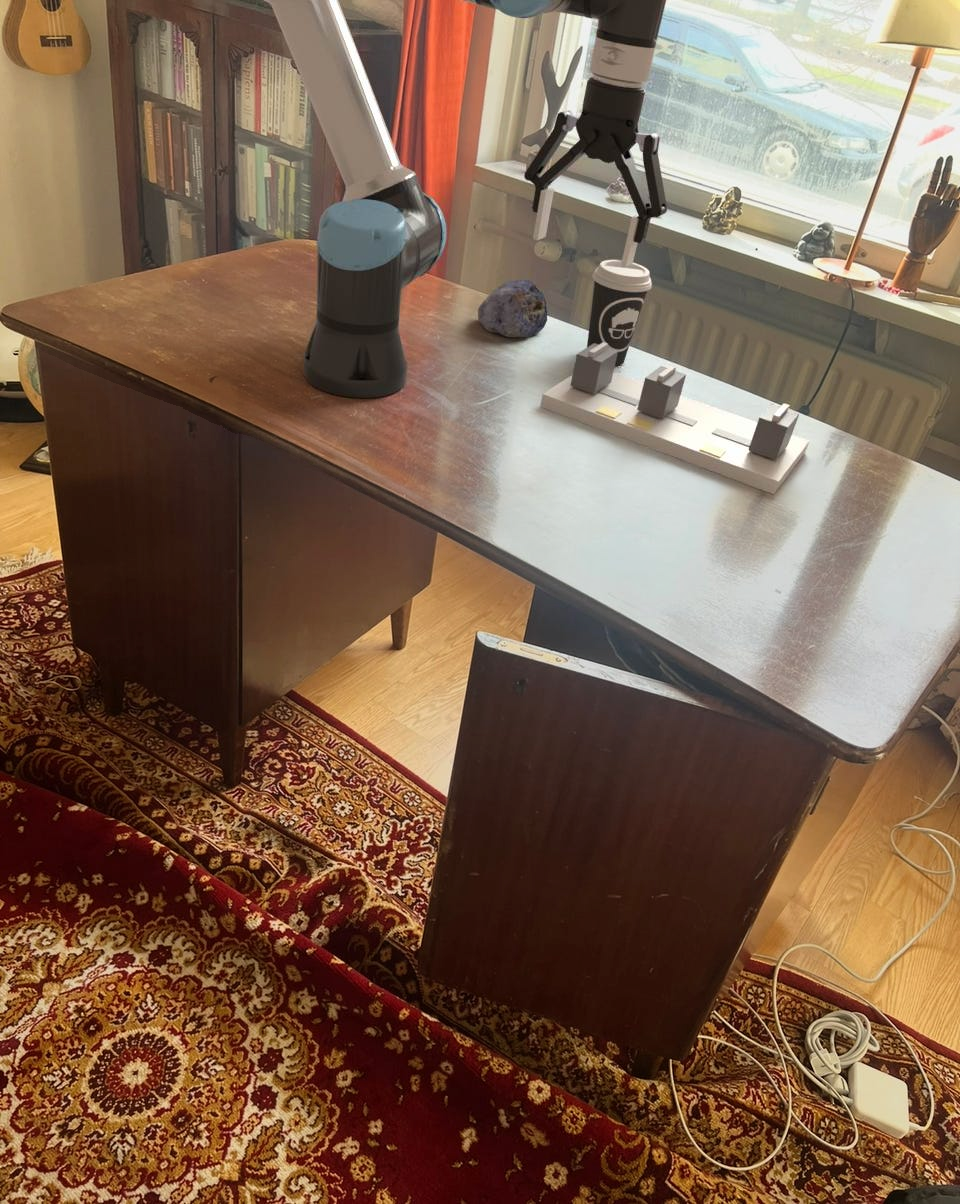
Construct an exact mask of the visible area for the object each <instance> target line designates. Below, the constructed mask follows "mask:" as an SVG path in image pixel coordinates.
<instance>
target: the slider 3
mask: <svg viewBox="0 0 960 1204" xmlns="http://www.w3.org/2000/svg"><path fill="white" fill-rule="evenodd" d="M789 408H790V404H787V403H782V405H781V406H780V405H777V404H774V403H771V404H770V405H769V407H767V408H766V409H765V411H764V412H763V413H762V414H761V415H760V416H759V418H758V420H757V422H758V423H757V426H756V429H755V432H754V435H753V438H752V441H751V444H750V446H749V449H748V450H749V451H752V452H754V453H757V454H760V455H763V456H765V457H768V458H771V459H774V460H776V459H777V458H778V457H779V456H780V455H781V453H782V452H783V451H784V450H785V448H786V447H787V446H788V444H789V441H790V438H791V436H792V435H793V432H794V430H795V427H796V424H797V422H798V418H799V416H800V412H797V411H794V410H792V409H789Z"/></svg>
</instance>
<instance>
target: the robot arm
mask: <svg viewBox="0 0 960 1204" xmlns="http://www.w3.org/2000/svg"><path fill="white" fill-rule="evenodd" d="M263 1H264V2H266V3H268V4H269V5H270V6H271V8H272V10H273V13H274V15H275V17H276V20H277V22H278V26H279V28H280V29H281V32H282V35H283V37H284V40H285V42H286V44H287V47H288V50H289V52H290V55H291V56H292V58H293V61H294V64H295V66H296V68H297V72H298V73H299V76H300V79H301V80H302V84H303V86H304V89H305V91H306V93H307V95H308V98H309V100H310V103H311V105H312V107H313V110H314V112H315V115H316V117H317V120H318V122H319V125H320V127H321V129H322V133H323V134H324V137H325V140H326V142H327V144H328V146H329V149H330V151H331V154H332V156H333V159H334V162H335V163H336V166H337V169H338V170H339V173H340V177H341V178H342V180H343V182H344V185H345V192H344V194H343V198H342V201H338V202H336V203H334V204H331V205H330V206H328V207H327V208H326V209H325V210H324V211H323V213H322V214H321V216H320V218H319V222H318V224H319V225H318V233H317V236H316V247H317V255H316V256H317V260H316V261H317V269H316V270H317V272H316V273H317V274H316V320H315V325H314V327H313V330H312V332H311V335H310V339H309V340H308V344H307V346H306V350H305V352H304V355H303V360H302V361H303V362H302V364H303V365H302V367H303V368H302V369H303V370H302V374H303V378H304V379H305V380H306V382H308V384H310V385H311V386H312V387H315V388H317V389H318V390H320V391H323V392H325V393H328V394H333V395H336V396H342V397H347V398H357V399H370V398H379V397H386V396H389V395H392V394H395V393H397V392H399V391H400V390H402V388H404V387H405V386H406V383H407V377H408V364H407V361H406V358H405V353H404V348H403V344H402V339H401V336H400V329H399V328H400V327H399V325H400V323H399V322H400V311H401V300H402V299H401V298H402V290H403V289H404V288H405V287H407V286H408V285H409V284H412V282H413V281H415V280H416V279H417V278H419V277H423V276H425V274H427V273H428V272H429V271H431V269H432V268H433V267H434V266H435V264H436V263H437V261H438V260H439V259H440V257H441V256H442V254H443V251H444V249H445V246H446V242H447V223H446V220H445V217H444V213H443V211H442V209H441V208H440V205H438V204H437V202H436V201H435V200H434V199H433V198H432V197H430V196H429V195H427V194H426V193H425V192H423V190H422V186H421V185H420V183H419V182H420V181H419V180H418V176H417V174H416V172H415V171H413V170H412V169H409V168H408V167H405V166H404V165H403V164H402V163H401V161H400V158H399V156H398V154H397V151H396V148H395V146H394V145H395V144H394V143H393V140H392V138H391V134H390V132H389V130H388V128H387V125H386V123H385V119H384V117H383V114H382V112H381V109H380V106H379V103H378V101H377V98H376V96H375V93H374V91H373V87H372V86H371V83H370V79H369V77H368V75H367V72H366V70H365V67H364V64H363V62H362V60H361V57H360V54H359V51H358V48H357V47H356V43H355V41H354V38H353V36H352V33H351V30H350V28H349V25H348V23H347V20H346V17H345V15H344V12H343V8H342V6H341V4H340V1H339V0H263ZM459 1H462V2H466V3H469V4H475V5H479V6H483V7H485V8H490V9H494V10H498V11H499V12H501V13H502V14H504V15H506V16H509V17H512V18H519V19H529V18H533V17H535V16H537V15H543V14H547V13H548V14H549V13H554V12H555V13H561V14H566V15H571V16H572V15H573V16H577V17H584V18H587V19H591V20H592V19H594V20H597V21H598V22H597V29H596V33H595V39H594V44H593V49H592V55H591V59H590V60H591V61H590V65H589V72H590V73H591V74H592V76H591V77H589V78H588V79H586V81H587V82H586V85H585V91H584V96H583V102H582V108H581V113H580V115H579V116H577V115H574V114H573V112H572V111H571V110H565V111H561V112H558V113H557V116H556V118H555V122H554V126H553V129H552V131H551V132H550V134H549V135H548V137H547V138H546V140H545V142H544V143H543V144H542V146H541V147H540V149H539V151H538V152H537V154H536V155H535V157H534V158H533V160H532V161H531V163H530V164H529V166H528V168H527V169H526V171H525V172H524V175H523V177H524V179H525V181H527V182H528V181H529V182H531V183H532V184H533V185H534V187H535V189H534V190H535V191H534V197H533V201H532V207H531V208H532V212H534V213H536V219H535V224H534V229H533V236H532V240H535V241H539V240H541V239H542V240H543V239H544V238H546V236H547V231H548V225H549V220H550V213H551V209H552V208H551V207H552V204H553V200H554V199H553V197H554V192H555V189H554V188H552V187H549V186H551V185H552V183H554V182H555V181H556V180H557V179H558V178H559V177H560V176H561V175H562V174H563V173H564V172H566V170H568V169H569V168H570V167H571V166H572V165H573V164H574V163H576V162H577V161H578V160H580V158H582V157H583V156H584V155H586V156H587V159H592V160H599V161H601V162H603V163H606V164H611V163H614V164H615V166H616V168H617V170H618V171H619V172H620V174H621V177H622V180H623V182H624V184H625V187H626V189H627V192H628V194H629V196H630V198H631V201H632V203H633V205H634V208H635V210H636V213H637V214H634V215H632V217H631V220H630V225H629V229H628V233H627V237H626V241H625V246H624V249H623V255H622V257H621V260H622V262H621V266H622V267H625V268H626V267H627V266H629V265H631V264H633V263H634V259H635V254H636V250H637V247H638V244H641V243H643V242H645V240H646V239H647V235H648V230H649V226H650V222H651V219H652V218H659V217H661V216H663V215H665V214H666V213H667V212H668V205H667V200H666V194H665V189H664V182H663V177H662V170H661V164H660V159H659V146H660V145H659V144H660V138H661V137H660V135H659V133H658V132H653V133H643V132H642V133H641V132H639V126H638V125H639V122H640V117H641V112H642V110H643V104H644V100H645V96H646V95H645V94H646V89H645V87H644V86H643V85H644V84H646V83H648V81H649V78H650V75H651V74H650V73H651V69H652V65H653V60H654V54H655V51H656V45H657V40H658V36H659V32H660V28H661V24H662V19H663V15H664V13H665V6H666V2H667V0H459ZM574 128H575V129H576V133H577V135H578V138H579V140H578V141H577V142H576V143H575V144H573V146H571V148H570V149H569V150H568V151H567V152H566V153H565V154H564V155H562V157H561V158H559V159H558V160H557V161H556V162H555V163H553V165H552V166H550V167H549V168H548V169H547V170H546V171H545V172H544V173H543V171H544V170H545V168H546V167H547V165H548V164H549V162H550V160H551V159H552V158H553V156H554V155H555V153H556V152H557V149H559V147H560V145H561V144H562V142H563V141H564V140H565V138H566V137H567V135H568V133H569V132H572V131H573V130H574ZM636 144H638V146H639V151H640V152H641V153H642V161H643V162H642V163H643V166H644V167H643V168H644V174H645V180H646V184H647V185H646V186H647V191H648V193H647V191H646V189H645V186H644V184H643V181H642V179H641V177H640V174H639V173H638V170H637V167H636V164H635V158H634V156H633V154H632V152H631V149H632V148H633V147H634V146H635V145H636ZM542 173H543V174H542Z"/></svg>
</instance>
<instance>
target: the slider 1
mask: <svg viewBox="0 0 960 1204" xmlns="http://www.w3.org/2000/svg"><path fill="white" fill-rule="evenodd" d="M607 347H608V343H605V342H603V343H601V344H600V345H598V344H595V343H594V344H592V345H590V346H589V347H587V346H586V347H585V348H584V349H583V350H581V351H578V353H576V357H575V361H574V365H573V366H574V367H573V371H572V374H571V375H572V380H571V385H570V386H573V387H575V388H578V389H581V390H584V391H586V392H589V393H592V394H595V393H597V392H598V391H600V390H601V389H602V388H604V387H605V386H607V385H608V384H610V383H611V380H612V376H613V372H614V370H615V367H616V366H615V363H616V358H617V354H618V351H616V350H613V349H610V348H607Z"/></svg>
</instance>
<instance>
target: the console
mask: <svg viewBox="0 0 960 1204" xmlns="http://www.w3.org/2000/svg"><path fill="white" fill-rule="evenodd" d="M572 375H573V374H571V375H569V376H568V377H567V378H565V379H563V380H562V381H560V382H559V383H557V384H556V385H554V386H552V387H551V388H549V389H548V390H546V391H545V392H543V393H542V395H541V401H540V407H541V408H543V409H545V410H548V411H550V412H554V413H557V414H559V415H562V416H565V417H568V418H570V419H573V420H576V421H578V422H581V423H583V424H586V425H589V426H590V427H594V428H597V429H599V430H602V431H605V432H607V433H610V434H613V435H615V436H618V437H620V438H623V439H626V440H628V441H631V442H634V443H636V444H639V445H641V446H644V447H647V448H650V449H651V450H655V451H658V452H661V453H663V454H665V455H667V456H672V458H673V457H674V458H676V459H679V460H682V461H684V462H687V463H689V464H692V465H695V466H697V467H700V468H702V469H704V470H708V471H711V472H713V473H716V474H718V475H722V476H724V477H725V478H726V477H727V478H729V479H732V480H735V481H737V482H740V483H743V484H745V485H747V486H748V485H749V486H750V487H753V488H756V489H758V490H761V491H763V492H766V493H770V494H771V495H775V493H776V492H777V491H778V490H779V489H780V487H781V486H782V484H783V483H784V482H785V480H786V479H787V478H788V476H789V475H790V474H791V472H793V470H794V468H795V467H797V464H798V463H799V462H800V461H801V459H802V458H803V457H804V455H805V454H806V451H807V449H808V446H809V443H810V440H809V439H806V438H803V437H801V436H797V435H794V434H792V436H791V438H790V441H789V444H788V446H787V447H786V448H785V450H784V451H783V452H782V453H781V455H780V456H779V457H778V458H777V459H776V460H774V459H771V458H768V457H765V456H763V455H760V454H757V453H754V452H752V451H749V450H748V449H749V446H750V444H751V441H752V438H753V435H754V432H755V429H756V426H757V423H758V421H754V420H753V419H749V418H746V417H744V416H740V415H737V414H734V413H732V412H729V411H725V410H723V409H720V408H717V407H714V406H713V405H712V406H711V405H709V404H706V403H703V402H701V401H697V400H694V399H691V398H689V397H686V396H683V395H682V394H681V395H680V399H679V402H678V406H677V407H676V408H675V409H674V410H672V411H671V412H670V413H669V414H668V415H667V416H665V417H664V418H663V419H661V418H658V417H655V416H652V415H650V414H647V413H644V412H641V411H639V410H637V409H638V405H639V401H640V397H641V393H642V389H643V385H644V382H643V381H641V380H637V379H635V378H632V377H629V376H627V375H623V374H620V373H618V372H614V371H613V376H612V380H611V383H610V384H608V385H607V386H605V387H604V388H602V389H601V390H600V391H598V392H597V393H595V394H592V393H589V392H586V391H584V390H581V389H578V388H575V387H573V386H570V385H571V380H572Z"/></svg>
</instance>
